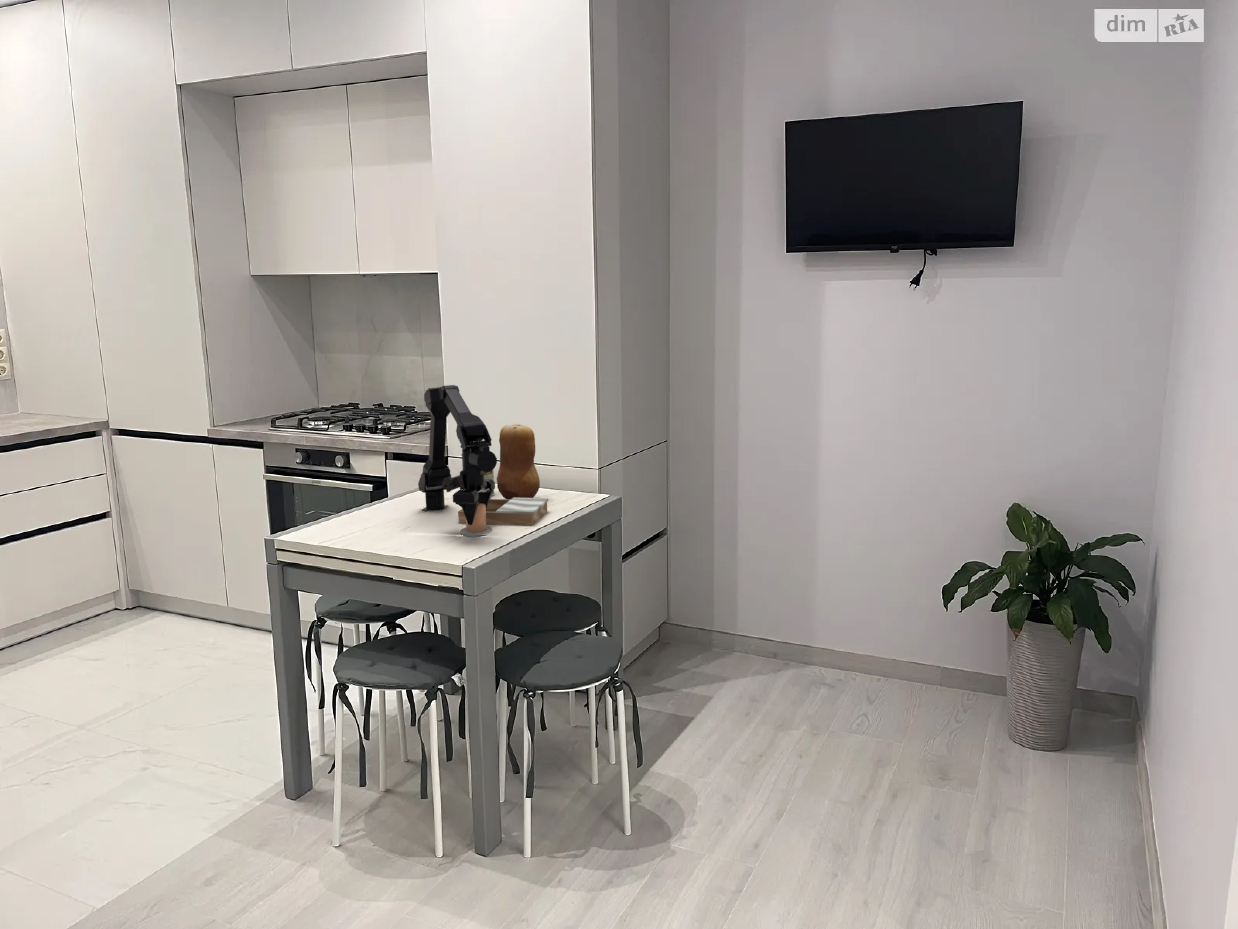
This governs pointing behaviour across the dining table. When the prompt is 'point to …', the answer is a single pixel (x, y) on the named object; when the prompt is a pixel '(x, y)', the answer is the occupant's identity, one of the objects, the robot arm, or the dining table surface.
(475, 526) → the tan cylinder
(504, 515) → the box
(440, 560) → the dining table surface
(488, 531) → the saucer
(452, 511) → the dining table surface
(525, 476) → the butternut squash
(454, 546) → the dining table surface
